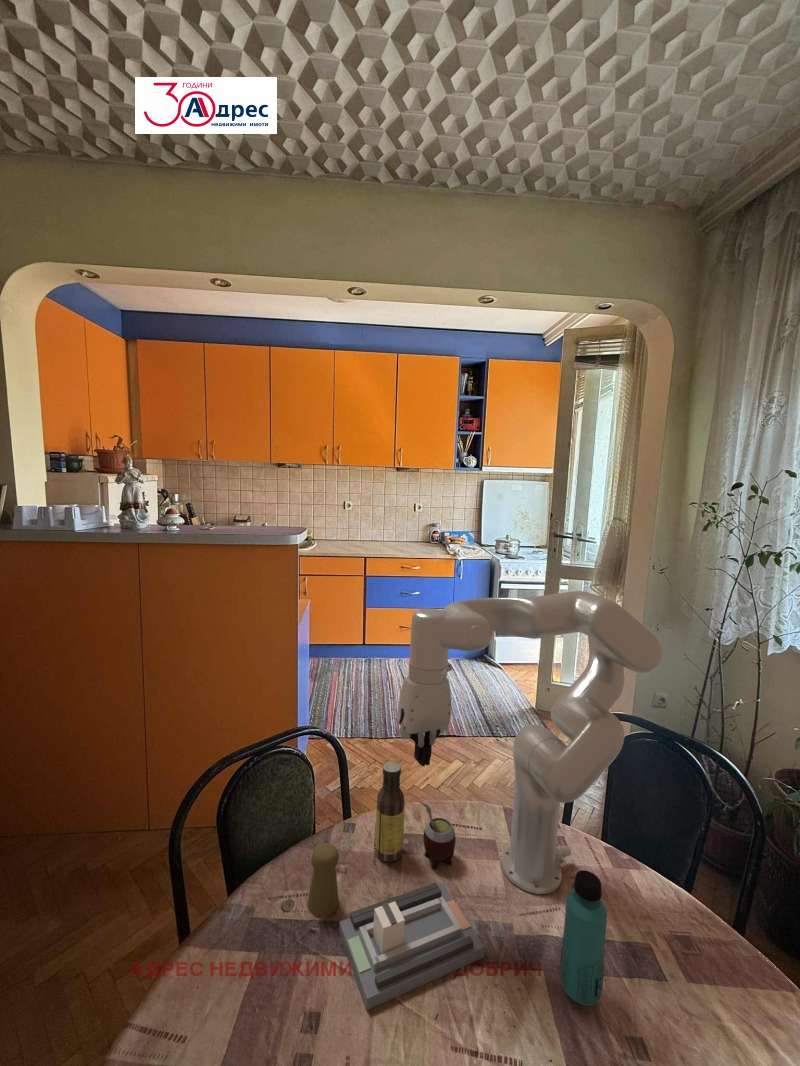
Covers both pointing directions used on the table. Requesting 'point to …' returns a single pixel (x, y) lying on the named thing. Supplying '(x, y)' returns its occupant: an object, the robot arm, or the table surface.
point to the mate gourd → (439, 840)
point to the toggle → (388, 927)
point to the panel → (410, 945)
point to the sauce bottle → (390, 815)
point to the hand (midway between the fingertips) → (422, 761)
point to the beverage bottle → (584, 940)
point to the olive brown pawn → (324, 881)
